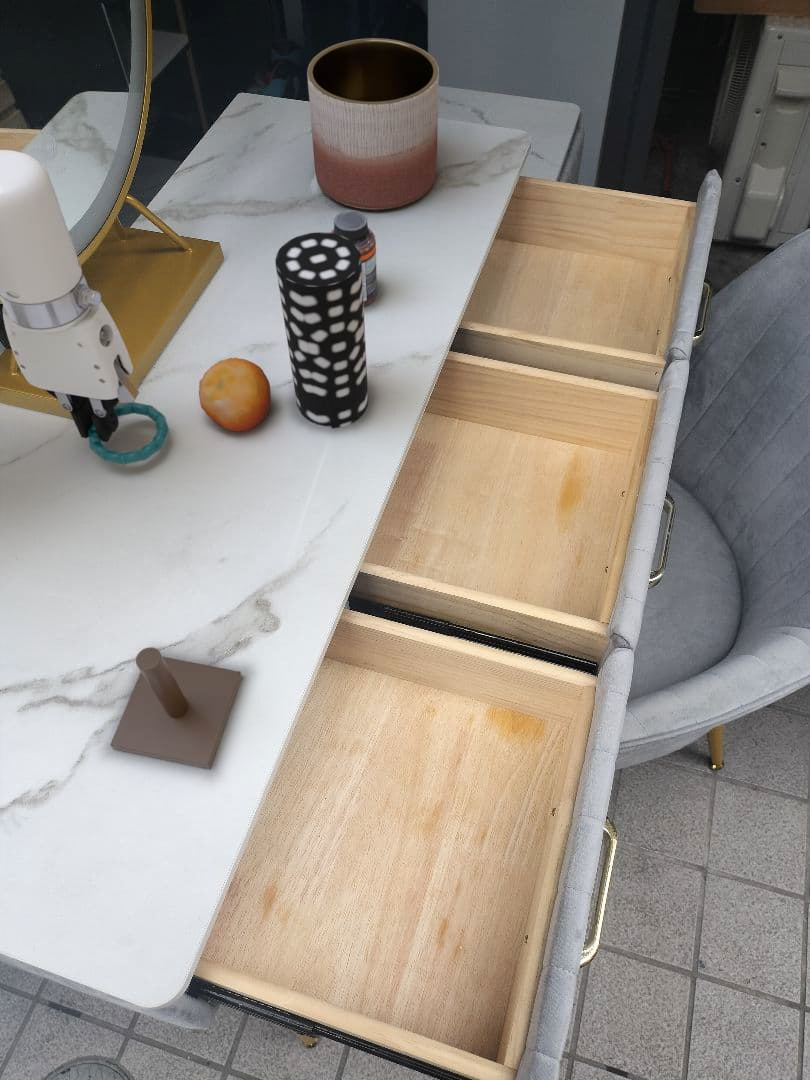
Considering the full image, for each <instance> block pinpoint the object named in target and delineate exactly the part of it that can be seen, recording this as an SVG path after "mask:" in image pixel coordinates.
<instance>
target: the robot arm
mask: <svg viewBox="0 0 810 1080" xmlns="http://www.w3.org/2000/svg"><path fill="white" fill-rule="evenodd" d="M0 301H1V303H2V319H3V323H4V329H5V332H6V335H7V340H8V342H9V345H10V349H11V351H12V353H13V357H14V359H15V361H16V363H17V365H18V368H19V370H20V372H21V374H22V376H23V377H24V378H25V381H26V382H27V383H28V384H30V385H31V386H33V387H35V388H39V389H41V390H43V391H44V390H45V391H46V393H48V394H49V395H50V396H52V397H53V398H55V399H56V400H58V403H59V405H60V406H61V409H63V410H64V411H67V412H69V413H70V415H71V417H72V420H73V422H74V424H75V426H76V428H77V431H78V434H79V436H80V438H84V439H89V437H88V431H89V429H90V427H91V426H92V424H93V423H94V426H95V428H96V431H97V433H98V435H99V437H100V438H101V442H104V443H108V442H109V440H110V439H111V436H112V435H113V433H115V432H116V431H117V429H118V427H119V425H120V424H119V423H120V422H119V418H118V417H117V415H116V413H115V410H114V407H115V406H116V405H119V404H120V405H121V404H126V403H133V402H134V403H135V401H136V400H137V398H138V396H139V394H140V391H139V390H138V388H137V387H136V385H135V384H134V382H132V380H131V379H130V377H129V376H131V375H133V372H134V367H133V363H132V360H131V357H130V355H129V354H130V353H129V351H128V349H127V347H126V343H125V342H124V340H123V337H122V335H121V333H120V330H119V328H118V327H117V324H116V322H115V320H114V319H113V317H112V315H111V313H110V312H109V310H108V308H107V307H106V306H105V304H104V303H103V302H102V295H101V293H100V291H98V290H93V289H92V288H90V287H89V285H88V282H87V279H86V277H85V275H84V272H83V269H82V266H81V263H80V260H79V258H78V254H77V252H76V249H75V246H74V244H73V240H72V238H71V234H70V231H69V228H68V226H67V223H66V220H65V217H64V214H63V212H62V208H61V205H60V202H59V199H58V196H57V194H56V191H55V188H54V185H53V183H52V180H51V177H50V175H49V173H48V171H47V170H46V169H45V167H44V166H43V164H42V163H41V162H40V161H39V160H38V159H36V158H35V157H33V156H31V155H29V154H27V153H24V152H21V151H17V150H12V149H11V150H10V149H0Z"/></svg>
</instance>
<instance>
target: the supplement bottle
mask: <svg viewBox="0 0 810 1080" xmlns="http://www.w3.org/2000/svg"><path fill="white" fill-rule="evenodd" d="M329 233H333V234H337V235H340V236H343V237H345V238H347V239H349V240H350V241H352V242H353V243H354V244H355V245H356V246H357V247H358V249H359V251H360V253H361V264H362V284H363V305H364V308H365V307H367V306H370V305H371V304H372V303H373V302H374V301H375V299H376V297H377V292H378V291H377V290H378V282H377V281H378V279H377V277H378V276H377V275H378V274H377V240H376V235H375V234H374V232H373V231H372V230H371V228H369V226H368V218H367V216H366V215H365V213H363V212H361V211H359V210H353V209H348V210H343V211H341V212H339V213H337V214H336V215H335V216H334V218H333V229H332V230H331V231H330V232H329Z"/></svg>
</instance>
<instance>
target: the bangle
mask: <svg viewBox="0 0 810 1080" xmlns="http://www.w3.org/2000/svg"><path fill="white" fill-rule="evenodd" d="M114 410H115V413H116V415H117V418H118V417H122V416H126V415H132V414H135V415H140V416H147V417H148V418H150V419H151V420H152V421H153V422H154V423H155V427H156V433H155V435H154V436H153V438H152V440H151V441H150V442H148V443H146V444H145V445H144V446H143V447H141V448H140V449H139V448H138V449H135V450H129V451H126V452H121V451H115V450H111V449H109V448H108V447H106V446H105V445H104V444H103V443H102V441H101V438H100V437H99V435H98V433H97V431H96V428H95V426H94V423H93V424H92V426H91V427H90V429H89V431H88V443H89V448H90V450H91V451H92V452H93V453H95V454H96V455H97V456H98V457H99V458H100V459H101V460H103V461H105V462H109V463H114V464H119V465H127V464H132V463H137V462H142V461H145V460H147V459H148V458H150V457H151V456H153V455H154V454H156V453H158V452H159V451H160V450H161V449H162V448H163V446H164V444H165V442H166V440H167V439H168V436H169V434H170V430H169V426H168V422H167V421H168V420H167V417H166V415H164V414H163V413H162V412H160V411H159V410H158V409H157V408H156V407H154V406H153V405H150V404H145V403H139V402H135V401H134V402H133V403H124V404H121V403H120V404H117V405H116V406H115V407H114Z"/></svg>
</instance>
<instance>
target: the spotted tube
mask: <svg viewBox="0 0 810 1080" xmlns="http://www.w3.org/2000/svg"><path fill="white" fill-rule="evenodd" d="M274 259H275V260H274V261H275V269H276V275H277V283H278V289H279V290H278V291H279V295H280V302H281V309H282V316H283V322H284V328H285V335H286V341H287V347H288V354H289V362H290V367H291V373H292V374H291V375H292V381H293V385H294V386H293V387H294V388H293V389H294V393H295V401H296V406H297V409H298V412H299V413H300V414H301V416H303V417H304V418H305V419H306V420H307V421H309V422H310V423H313V424H315V425H317V426H323V427H331V429H338V428H343V427H346V426H349V425H351V424H354V423H355V422H357V421H358V420H359V419H360V418H362V417H363V415H364V414H365V412H366V411H367V409H368V406H369V389H368V388H369V387H368V368H367V347H366V327H365V325H366V324H365V307H364V305H363V284H362V264H361V253H360V251H359V249H358V247H357V246H356V245H355V244H354V243H353V242H352V241H350V240H349V239H347V238H345V237H343V236H340V235H337V234H333V233H330V232H322V231H320V232H319V231H317V232H310V233H309V232H308V233H304V234H300V235H297V236H295V237H293V238H291V239H289V240H288V241H287V242H285V243H283V244H282V246H281V247H280V248H279V249H278V251H277V253H276V255H275V258H274Z"/></svg>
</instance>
